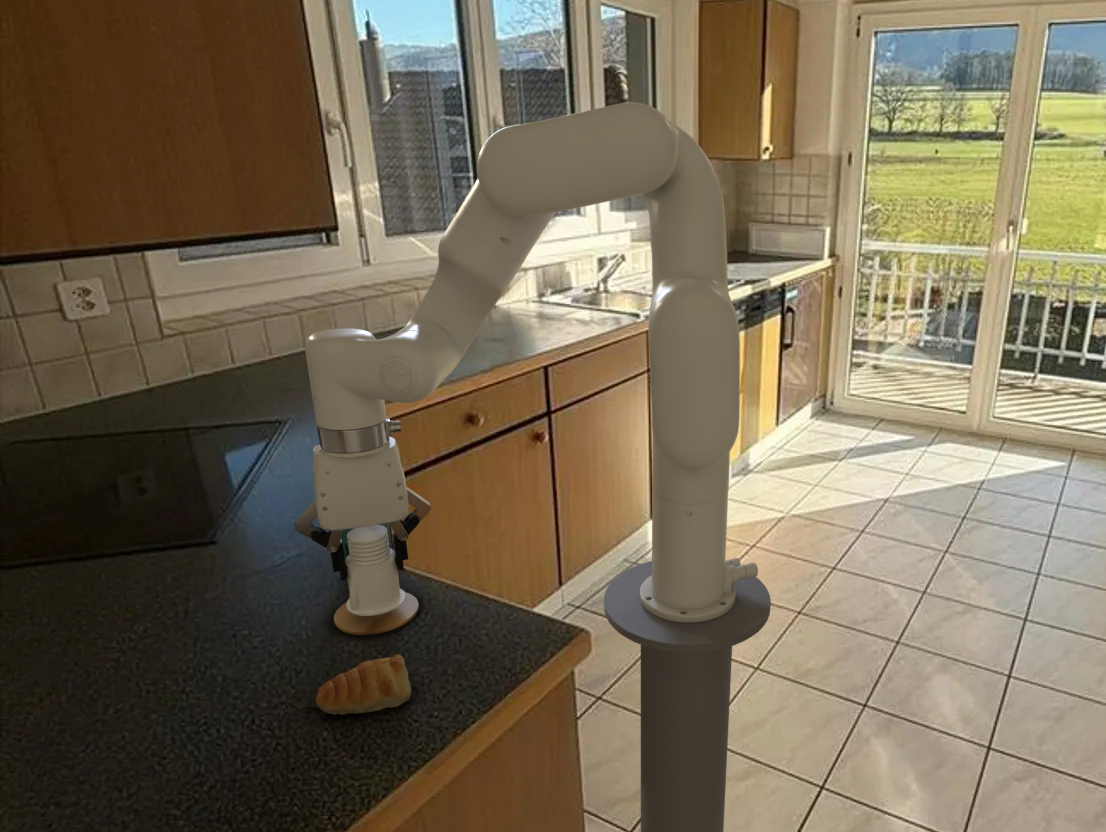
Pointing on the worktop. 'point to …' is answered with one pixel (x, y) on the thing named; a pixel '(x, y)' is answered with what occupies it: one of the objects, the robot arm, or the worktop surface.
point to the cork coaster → (376, 619)
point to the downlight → (372, 572)
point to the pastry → (366, 687)
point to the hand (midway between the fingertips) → (372, 568)
